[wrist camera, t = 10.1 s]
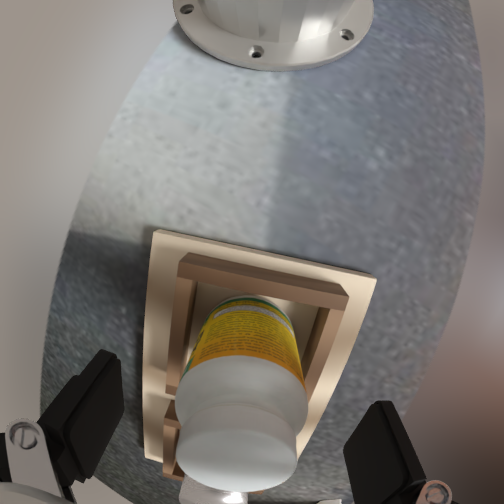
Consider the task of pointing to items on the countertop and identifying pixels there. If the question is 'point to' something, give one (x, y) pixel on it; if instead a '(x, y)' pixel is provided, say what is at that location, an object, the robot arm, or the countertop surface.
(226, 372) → the supplement bottle
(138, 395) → the countertop surface
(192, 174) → the countertop surface
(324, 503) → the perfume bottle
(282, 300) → the socket board
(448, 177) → the countertop surface
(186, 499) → the silver cylinder
